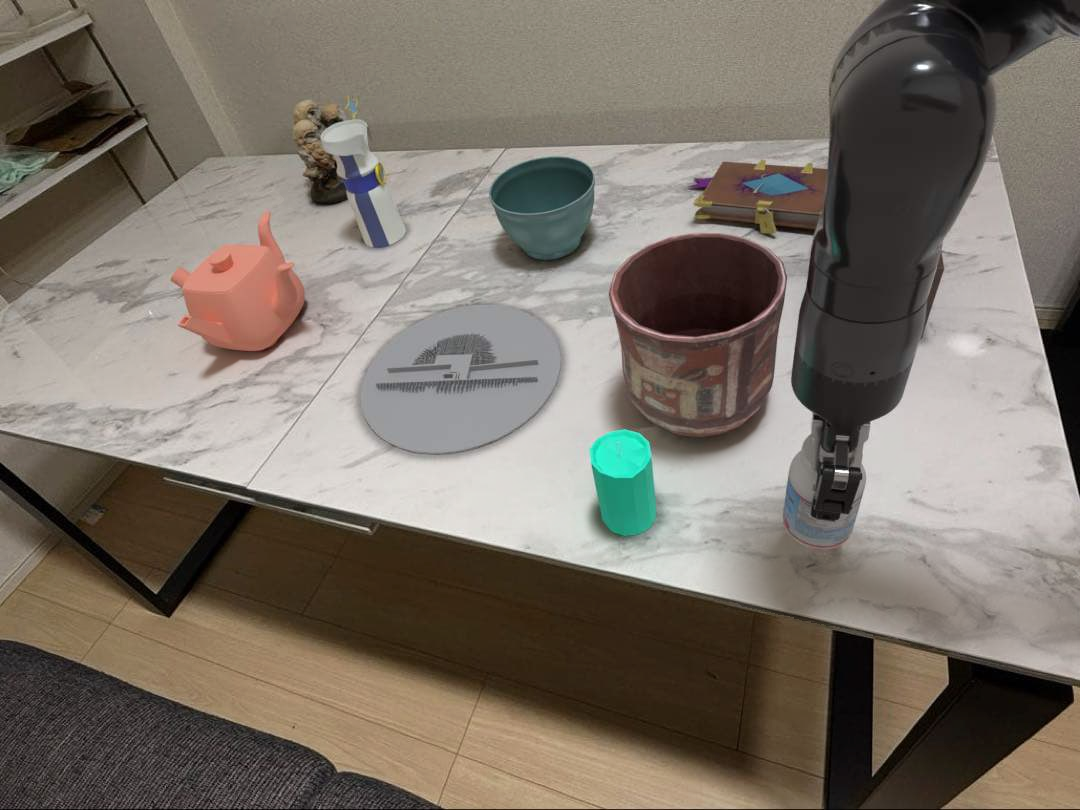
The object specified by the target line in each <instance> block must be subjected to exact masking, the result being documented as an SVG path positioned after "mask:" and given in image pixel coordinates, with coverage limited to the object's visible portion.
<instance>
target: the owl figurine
mask: <svg viewBox="0 0 1080 810" xmlns="http://www.w3.org/2000/svg"><path fill="white" fill-rule="evenodd" d="M292 115H293V117H292V121H293V124H292V134H291V135H292V140H293V141H294V143H295V144H296V146H295V153H296V154H297V155H298V156H299V158H300V159H301V161H303V163H304V165H305V167H306V168H305V171H304V172H302V176H303V178H304V177H305V178H307V179H309V181H310V182H313V183H312V185H311V187H310V191H309V194H310V198H311V201H312V202H315V203H316V204H336V203H340V202H343V201H346V200H348V198H347V189H346V187H345V184H344V182H343V180H342V177H340V176H338V174H337V162H336V159H335V157H334V156H333V155H332V154H329V153H327V152H325V151H324V150H323V147H322V143H321V134H322V132H323V131H324V130H325V129H327V128H328V127H330V126H332V125H334V124H336V123H339V122H342V121H347V120H350V119H349V118H348V116H347V115H346V114H345V112H344V111H343V110H342V108H341V107H340V106H339V105H338V104H336V103H329V104H327V105H326V106H324V107H323V108H322V109H321V111H320V109H319V106H318V104H317V102H315V101H313V100H311V99H305V100H303V101H300V102H298V103H297V104H296V105H295V106H294V108H293V113H292Z"/></svg>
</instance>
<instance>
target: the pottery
mask: <svg viewBox="0 0 1080 810" xmlns="http://www.w3.org/2000/svg"><path fill="white" fill-rule="evenodd" d="M787 282H788V274H787V271H786V268H785V266H784V262H783V261H782V260H781V258H779V257H778V256H777V255H776V254H775V253H774V252H773V251H772V250H771V249H770V248H769V247H767V246H765V245H762V244H760V243H758V242H756V241H754V240H753V239H750V238H748V237H743V236H739V235H733V234H730V233H726V232H725V233H724V232H692V233H686V234H680V235H675V236H674V235H673V236H669V237H667V238H664V239H661V240H659V241H656V242H653V243H650V244H648V245H647V246H645V247H643V248H641V249H640V250H638V251H637V252H635V253H633V254H631V256H629V257H627V258H626V260H625V261H624V262H623V263H622V264H621V265H620V267H619V268H618V269H617V270H616V271H615V272H614V274H613V275H612V280H611V283H610V287H609V291H608V298H609V303H610V306H611V310H612V313H613V317H614V320H615V324H616V328H617V333H618V338H619V342H620V343H619V344H620V349H621V350H620V351H621V353H620V354H621V365H622V366H621V367H622V374H623V379H624V383H625V386H626V390H627V393H628V396H629V399H630V401H631V403H632V405H633V406H634V407H635V408H636V409H637V410H638V411H639V412H640V413H641V414H642V415H643V416H644V417H645V418H646V420H648V421H650V423H651V424H653V425H655V426H657V427H659V428H661V429H663V430H666V431H668V432H670V433H671V434H674V435H679V436H687V437H695V438H705V437H710V436H717V435H723V434H725V433H727V432H730V431H732V430H734V429H737V428H739V427H741V426H742V425H743V424H744V423H746V422H747V421H748V420H749V419H750V418H752V417H753V416H754V415H755V414H756V413H757V412H758V411H759V410H760V409H761V407H762V405H763V404H764V403H765V400H766V399H767V396H768V395H769V393H770V391H771V390H772V387H773V384H774V377H775V371H776V370H775V369H776V360H777V359H776V358H777V347H778V337H779V331H780V324H781V319H782V315H783V310H784V306H785V299H786V290H787Z"/></svg>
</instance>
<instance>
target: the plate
mask: <svg viewBox="0 0 1080 810" xmlns="http://www.w3.org/2000/svg"><path fill="white" fill-rule="evenodd" d="M561 355H562V354H561V350H560V346H559V343H558V341H557V338H556V336H555V335H554V333H553V332H552V330H551V328H549V327H548V326H547V324H545V322H543V321H541V320H540V319H539V318H537V317H536V316H534V315H532V314H530V313H529V312H526V311H524V310H521V309H518V308H516V307H511V306H505V305H500V304H475V305H474V304H471V305H465V306H464V305H463V306H460V307H455V308H451V309H447V310H443V311H441V312H438V313H435V314H433V315H430V316H427V317H425V318H424V319H421V320H420V321H418V322H416V323H414V324H412V325H410V326H409V327H407V328H405V329H404V330H403V331H401V332H399V333H398V334H397V335H395V337H393V338H392V339H391V340H390V341H388V343H386V345H385V346H384V347H383V348H382V349H381V350H380V351H379V352H378V353H377V354H376V356H375V357H374V358H373V359H372V361H371V363H370V365H369V367H368V368H367V371H366V372H365V375H364V376H363V380H362V384H361V388H360V405H361V410H362V414H363V417H364V419H365V421H366V423H367V424H368V426H369V427H370V428H371V430H372V431H373V433H375V434H376V435H377V436H378V437H379V438H381V440H383V441H385V442H386V443H388V444H389V445H392V446H393V447H396V448H398V449H401V450H403V451H407V452H411V453H414V454H423V455H449V454H458V453H463V452H468V451H471V450H475V449H478V448H481V447H484V446H486V445H489V444H492V443H494V442H497V441H499V440H501V439H502V438H504V437H506V436H509V435H510V434H512V433H513V432H515V431H516V430H518V429H519V428H520V427H522V426H523V425H524V424H526V423H527V422H528V421H530V420H531V419H532V418H533V417H534V416H536V414H537V413H538V412H539V411H540V410H541V409H542V407H544V405H545V404H546V402H547V401H548V400H549V398H550V397H551V395H552V394H553V392H554V391H555V388H556V386H557V383H558V380H559V377H560V375H561V374H560V373H561V365H562V356H561Z"/></svg>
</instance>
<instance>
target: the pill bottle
mask: <svg viewBox="0 0 1080 810" xmlns="http://www.w3.org/2000/svg"><path fill="white" fill-rule="evenodd" d="M812 443H813V436H812V434H811V433H810V434H809V435H808V436H807V437H805V439H804V441H803V442H802V446H801V450H800V451H798V452H797V453H796V454H795V455H794V457H793V458H792V460H791V462H790V465H789V469H788V475H787V476H788V477H787V482H786V488H785V489H786V490H785V496H784V503H783V511H782V523H783V526H784V528H785V530H786V532H787V534H788V535H789V536H790V538H792V539H793V540H794V541H795V542H797V543H798V544H800V545H802V546H805V547H807V548H810V549H814V550H822V551H826V550H827V551H828V550H833V549H836V548H839V547H840V546H843V545H844V544H845V543H846V542H847V541H848V540H849V539H850V537H851V536H852V533H853V531H854V527H855V524H856V521H857V517H858V515H859V511H860V506H861V502H862V499H863V495H864V493H865V488H866V485H867V472H866V469H865V467H864V465H863V456H864V454H863V452H862V458H861V465H860V468H861V473H862V480H860V484H859V487H858V490H857V493H856V496H855V498H854V501H853V504H852V510H850V513H849V514H841V515H840V518H839V519H838V520H835V522H832V521H825V520H817V519H816V518H814V517H812V516H811V505H812V499H813V494H814V491H812V486H813V485H814V484H815V475H816V472H815V471H814V470H812V468H811V451H812ZM852 453H853V452H851V453H849V458H850V457H851V456H852ZM820 455H822V456H824V457H833V453H828V452H825V451H824V450H823V449H822V448H821V446H820Z"/></svg>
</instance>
